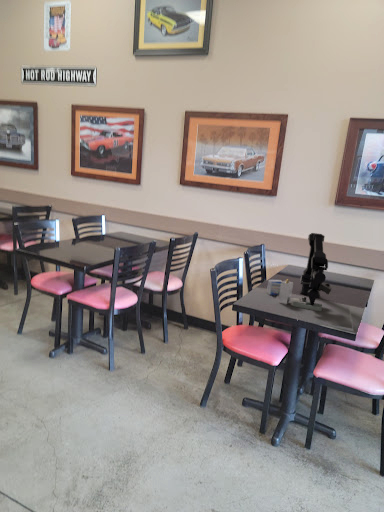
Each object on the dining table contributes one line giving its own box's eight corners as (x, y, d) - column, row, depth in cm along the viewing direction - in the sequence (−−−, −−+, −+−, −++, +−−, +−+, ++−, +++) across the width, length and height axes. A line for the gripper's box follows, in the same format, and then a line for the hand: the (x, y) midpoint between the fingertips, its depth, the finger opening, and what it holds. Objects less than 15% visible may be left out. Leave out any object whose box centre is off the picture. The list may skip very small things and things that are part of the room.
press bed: (277, 296, 224) (278, 291, 223) (321, 304, 216) (322, 299, 215) (274, 305, 208) (274, 299, 207) (320, 314, 200) (321, 308, 199)
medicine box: (269, 295, 225) (271, 281, 223) (266, 292, 229) (268, 279, 227) (281, 295, 227) (283, 281, 226) (277, 292, 232) (279, 279, 230)
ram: (291, 302, 210) (292, 294, 209) (305, 305, 208) (307, 296, 207) (290, 304, 207) (291, 296, 206) (305, 307, 204) (306, 298, 203)
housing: (282, 300, 213) (285, 277, 210) (290, 302, 210) (293, 279, 207) (278, 302, 209) (281, 279, 206) (286, 304, 206) (289, 281, 204)
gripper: (332, 285, 190) (327, 313, 194) (332, 276, 207) (327, 303, 211) (309, 281, 194) (304, 309, 197) (311, 273, 211) (307, 299, 214)
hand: (311, 305), depth 205 cm, fingers closed
